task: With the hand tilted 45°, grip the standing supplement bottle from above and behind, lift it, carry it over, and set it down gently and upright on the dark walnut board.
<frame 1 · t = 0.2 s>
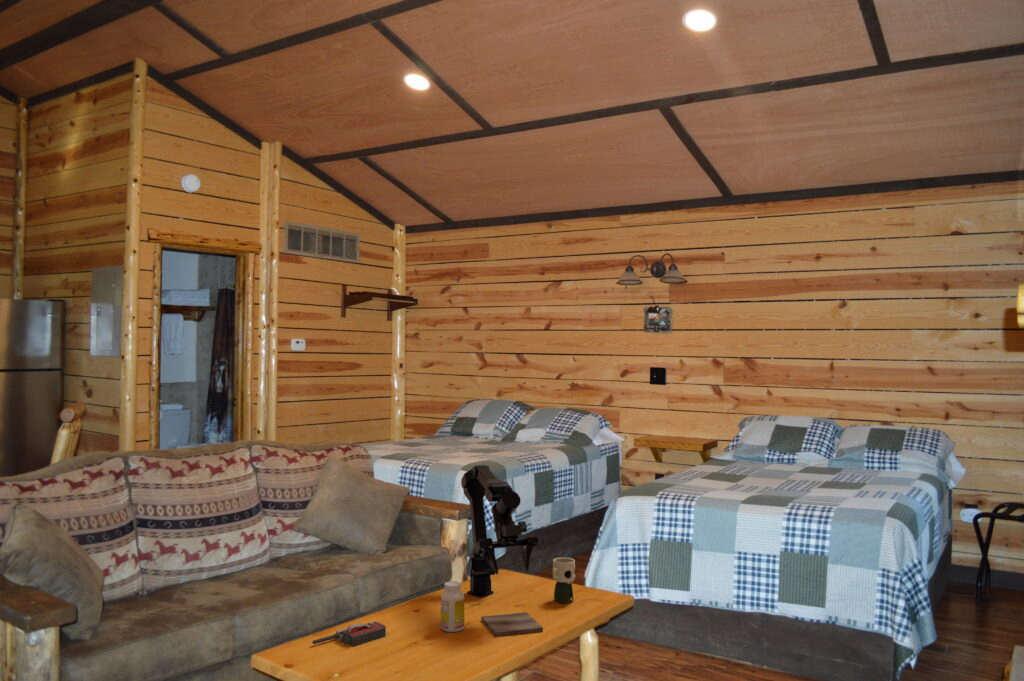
hand: (512, 572, 232), 15 cm above the table, tool tilted 35°, fingers open, 9 cm apart
supplement bottle: (452, 629, 227), on the table
character mug: (563, 601, 253), on the table
walnut board: (511, 626, 229), on the table
walkie-talkie: (351, 642, 217), on the table
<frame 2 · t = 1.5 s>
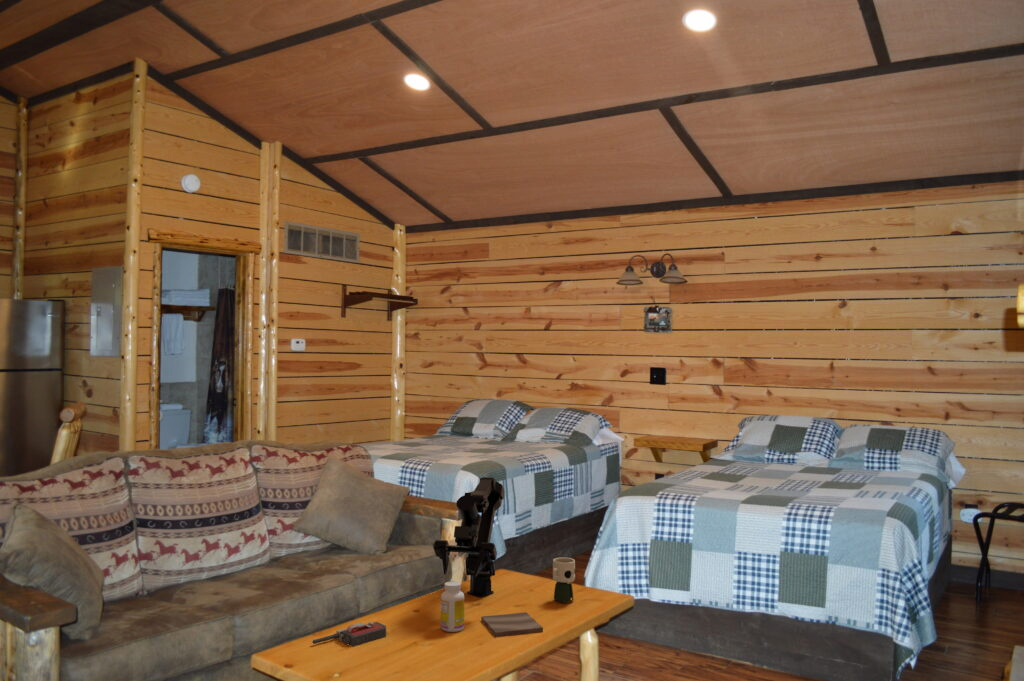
hand: (459, 575, 234), 13 cm above the table, tool tilted 45°, fingers open, 9 cm apart
nothing on the table moved.
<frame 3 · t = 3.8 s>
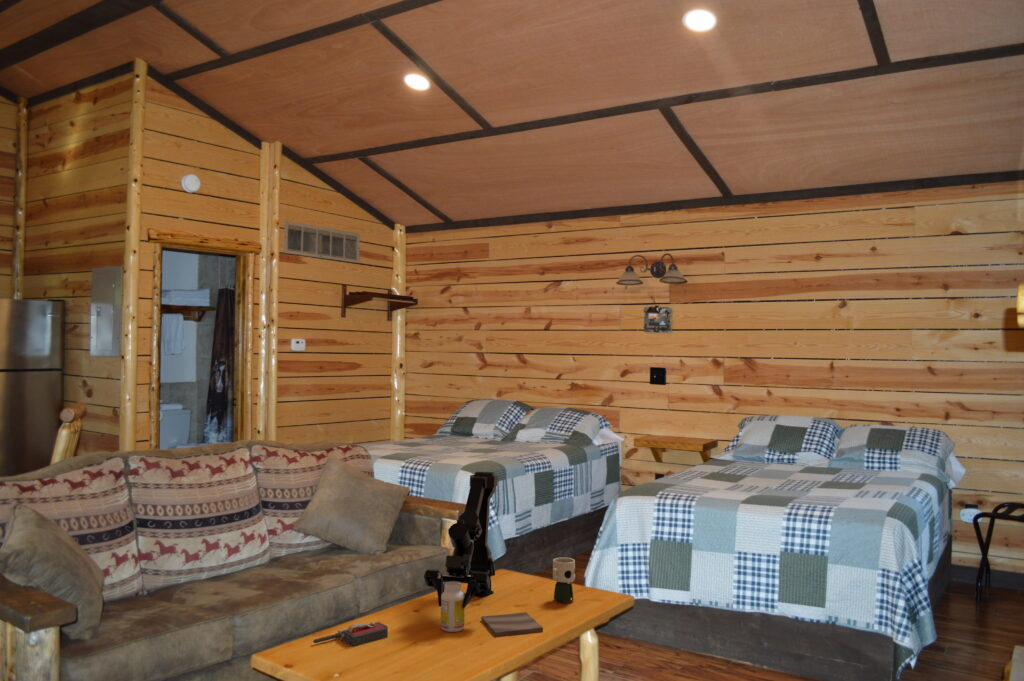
hand: (451, 606, 225), 7 cm above the table, tool tilted 45°, fingers closed on supplement bottle, 7 cm apart
supplement bottle: (452, 629, 227), on the table, touching gripper
everything else where it was.
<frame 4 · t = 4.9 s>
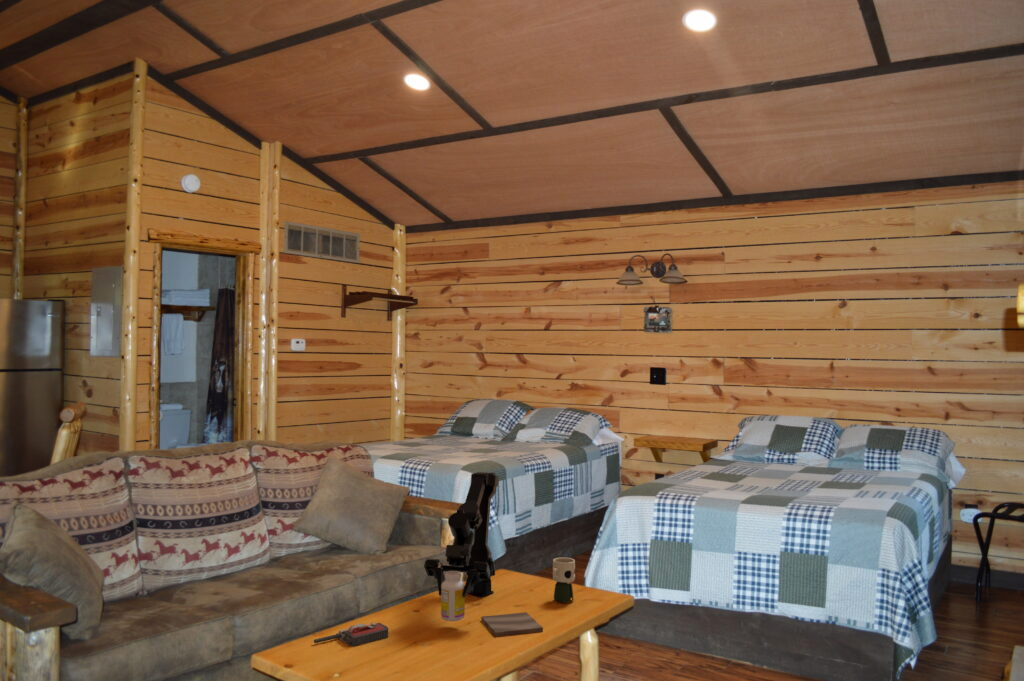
hand: (451, 596, 226), 10 cm above the table, tool tilted 45°, fingers closed on supplement bottle, 7 cm apart
supplement bottle: (452, 618, 227), point 3 cm above the table, touching gripper
everything else where it was.
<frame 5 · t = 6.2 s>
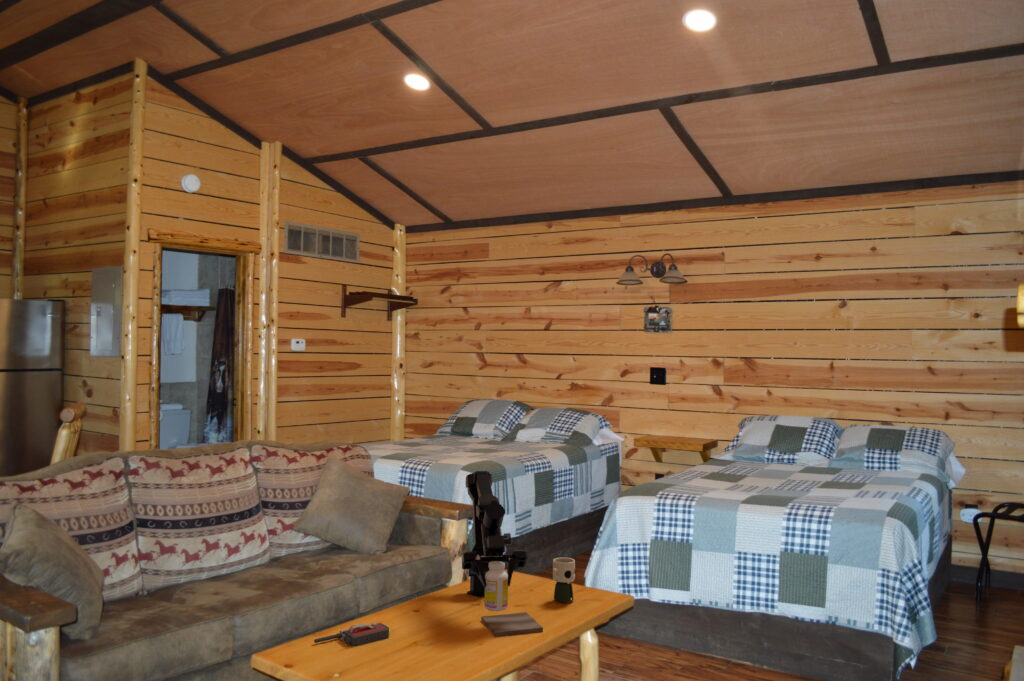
hand: (497, 586, 227), 12 cm above the table, tool tilted 45°, fingers closed on supplement bottle, 7 cm apart
supplement bottle: (495, 608, 228), point 5 cm above the table, touching gripper
everything else where it was.
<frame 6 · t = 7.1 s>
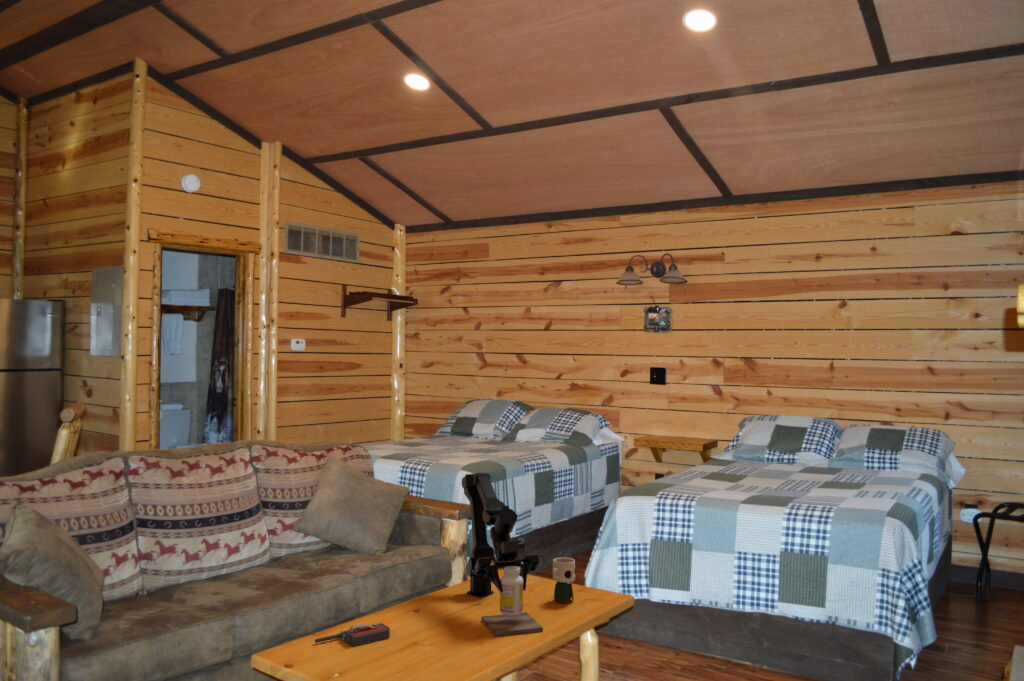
hand: (513, 590, 228), 10 cm above the table, tool tilted 45°, fingers closed on supplement bottle, 7 cm apart
supplement bottle: (511, 613, 230), point 4 cm above the table, touching gripper
everything else where it was.
when the fingers open (9 cm above the table, at t = 7.9 s): supplement bottle drops 1 cm, resting on walnut board.
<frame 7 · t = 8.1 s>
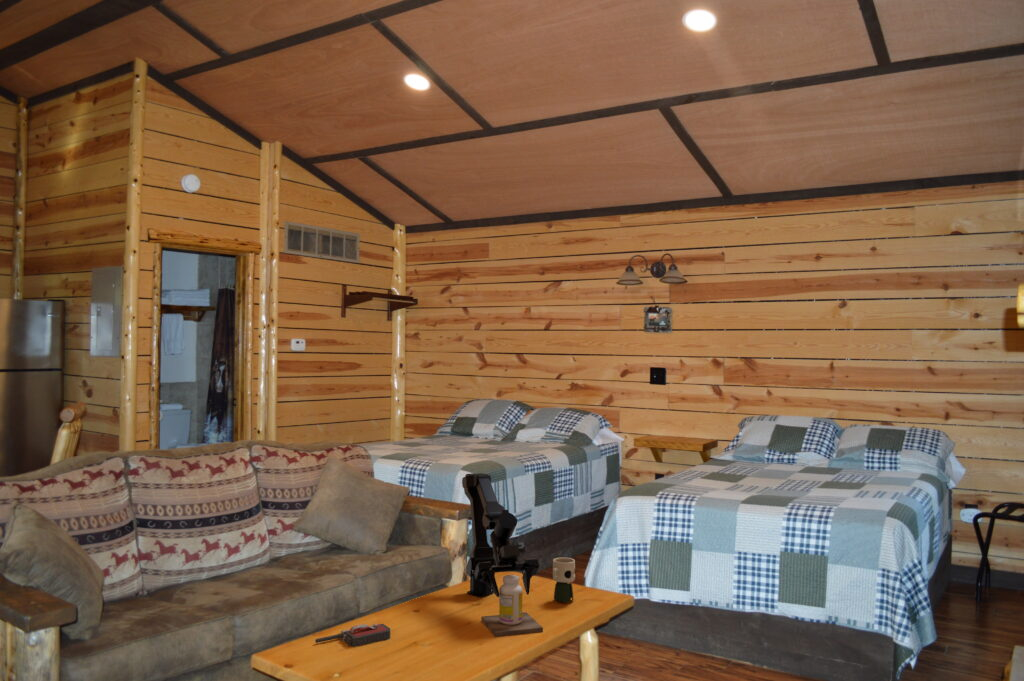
hand: (513, 595, 228), 9 cm above the table, tool tilted 45°, fingers open, 9 cm apart
supplement bottle: (510, 622, 230), point 1 cm above the table, touching walnut board
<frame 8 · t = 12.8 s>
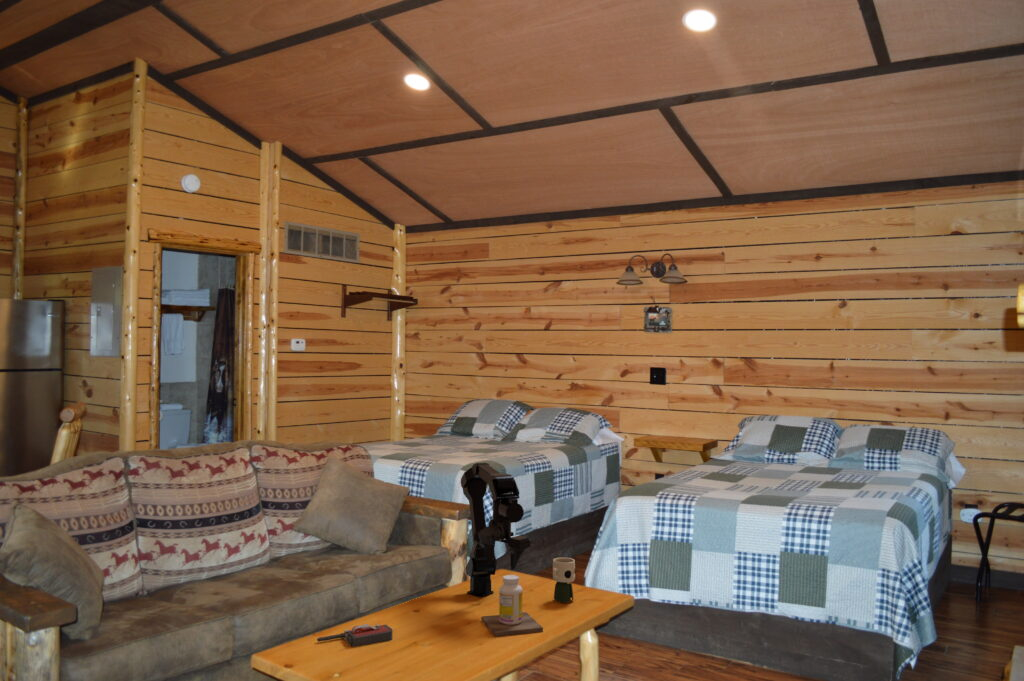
hand: (501, 567, 244), 13 cm above the table, tool pointing down, fingers open, 9 cm apart
at the end: supplement bottle inside the target area on the walnut board (0.3 cm from its centre), point 1.0 cm above the walnut board's base; supplement bottle tilted 0°; the gripper is holding nothing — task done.
